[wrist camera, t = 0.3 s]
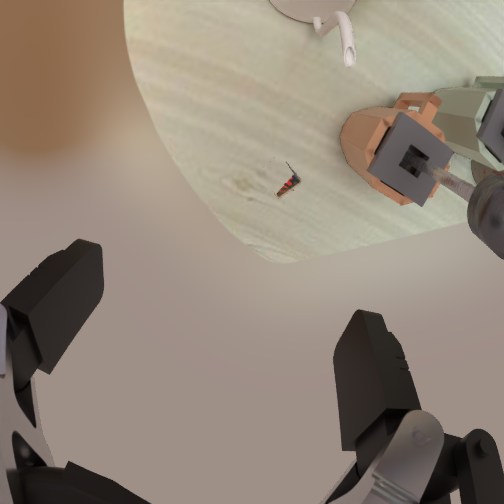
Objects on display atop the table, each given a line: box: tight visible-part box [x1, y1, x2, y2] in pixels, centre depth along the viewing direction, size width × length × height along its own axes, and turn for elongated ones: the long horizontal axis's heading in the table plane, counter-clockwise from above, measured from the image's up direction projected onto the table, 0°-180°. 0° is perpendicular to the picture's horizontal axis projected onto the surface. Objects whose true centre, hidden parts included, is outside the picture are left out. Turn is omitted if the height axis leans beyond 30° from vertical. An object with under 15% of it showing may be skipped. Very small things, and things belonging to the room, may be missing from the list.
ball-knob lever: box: [375, 128, 504, 259], centre depth 17 cm, size 6×6×16 cm
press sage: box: [431, 76, 504, 172], centre depth 24 cm, size 11×8×13 cm
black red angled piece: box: [274, 162, 301, 199], centre depth 37 cm, size 5×5×1 cm
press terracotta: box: [340, 93, 454, 207], centre depth 27 cm, size 11×8×13 cm
